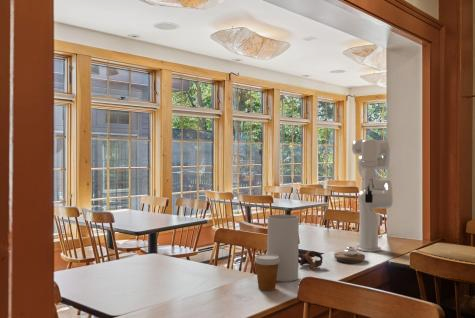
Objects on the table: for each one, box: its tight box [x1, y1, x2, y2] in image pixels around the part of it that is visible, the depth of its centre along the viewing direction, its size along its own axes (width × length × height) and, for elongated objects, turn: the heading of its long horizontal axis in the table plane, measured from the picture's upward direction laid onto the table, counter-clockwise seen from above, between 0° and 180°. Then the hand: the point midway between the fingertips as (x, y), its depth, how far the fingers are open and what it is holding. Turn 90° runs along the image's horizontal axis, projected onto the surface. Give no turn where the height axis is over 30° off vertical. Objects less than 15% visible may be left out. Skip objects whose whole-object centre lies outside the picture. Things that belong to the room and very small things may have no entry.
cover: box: [343, 246, 358, 257], centre depth 218 cm, size 6×6×4 cm
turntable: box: [334, 251, 366, 264], centre depth 219 cm, size 14×14×3 cm
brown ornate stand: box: [298, 250, 324, 271], centre depth 206 cm, size 12×10×8 cm
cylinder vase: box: [266, 214, 300, 283], centre depth 187 cm, size 12×12×25 cm
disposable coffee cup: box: [253, 253, 280, 292], centre depth 173 cm, size 10×10×12 cm
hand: (368, 202), depth 225 cm, fingers closed
